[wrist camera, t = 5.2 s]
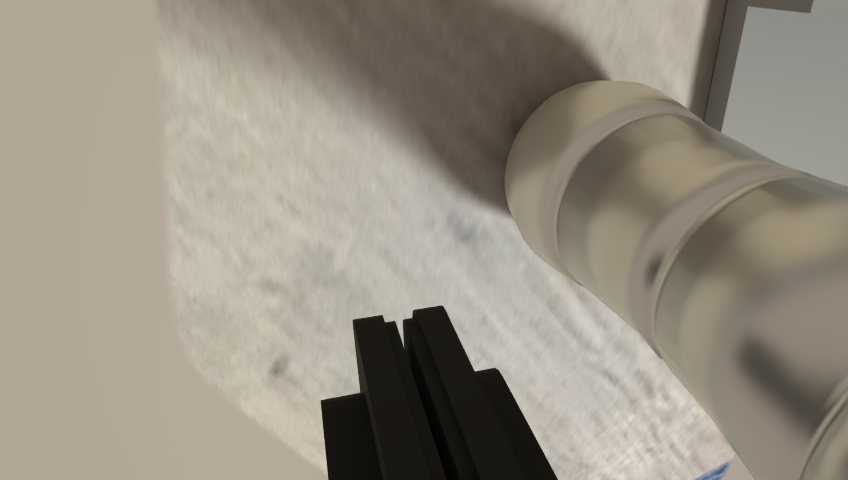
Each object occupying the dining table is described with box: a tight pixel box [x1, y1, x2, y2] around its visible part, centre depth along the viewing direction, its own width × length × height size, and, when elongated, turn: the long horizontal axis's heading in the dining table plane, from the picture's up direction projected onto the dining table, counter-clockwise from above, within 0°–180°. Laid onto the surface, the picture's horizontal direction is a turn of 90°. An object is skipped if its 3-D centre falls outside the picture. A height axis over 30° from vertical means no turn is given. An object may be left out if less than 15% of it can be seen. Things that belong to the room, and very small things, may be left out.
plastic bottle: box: [505, 80, 848, 480], centre depth 12 cm, size 6×7×20 cm
